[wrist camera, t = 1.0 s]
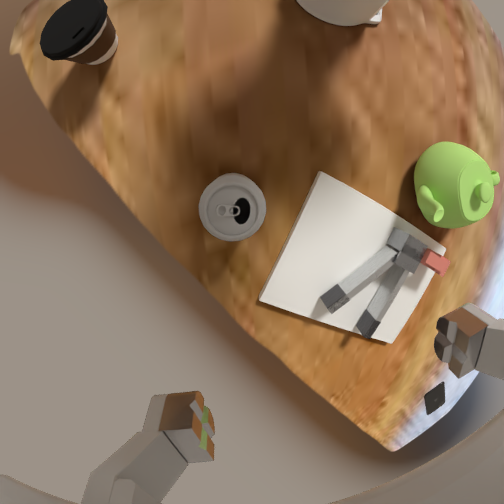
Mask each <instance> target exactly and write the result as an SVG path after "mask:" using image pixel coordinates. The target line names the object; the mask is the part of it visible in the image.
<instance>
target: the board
mask: <svg viewBox="0 0 504 504" xmlns="http://www.w3.org/2000/svg"><path fill="white" fill-rule="evenodd" d="M394 227H395V228H397V229H400V230H402V231H404V232H406V233H408V234H410V235H412V236H413V237H415V238H416V239H418V240H419V241H421V242H422V243H424V244H425V245H427V246H428V247H427V248H429V249H431V250H433V251H434V252H436V253H438V254H440V255H442V256H443V255H444V253H445V251H446V248H445V247H443V246H442V245H440V244H439V243H438V242H436V241H435V240H433V239H432V238H431V237H429V236H428V235H426V234H425V233H423V232H422V231H420V230H419V229H418V228H416V227H415V226H413V225H412V224H410V223H409V222H407V221H405V220H404V219H402V218H401V217H399V216H398V215H396V214H395V213H393V212H391V211H390V210H388V209H387V208H385V207H383V206H382V205H380V204H378V203H377V202H375V201H373V200H372V199H370V198H368V197H367V196H365V195H363V194H362V193H360V192H358V191H356V190H355V189H353V188H351V187H349V186H348V185H346V184H344V183H342V182H340V181H338V180H337V179H335V178H333V177H331V176H329V175H327V174H325V173H324V172H322V171H318V173H317V176H316V178H315V180H314V182H313V184H312V186H311V189H310V191H309V193H308V195H307V197H306V199H305V201H304V203H303V206H302V208H301V210H300V212H299V214H298V216H297V218H296V220H295V223H294V225H293V227H292V229H291V231H290V233H289V235H288V237H287V239H286V241H285V243H284V245H283V248H282V250H281V252H280V254H279V256H278V258H277V260H276V262H275V264H274V266H273V268H272V270H271V272H270V274H269V276H268V278H267V280H266V282H265V284H264V286H263V288H262V290H261V292H260V294H259V301H262V302H265V303H268V304H270V305H273V306H276V307H279V308H282V309H285V310H288V311H290V312H293V313H296V314H299V315H302V316H305V317H308V318H311V319H314V320H317V321H320V322H323V323H326V324H329V325H332V326H336V327H339V328H342V329H345V330H348V331H351V332H355V333H358V334H361V333H360V331H359V330H358V328H357V327H356V324H357V323H358V321H359V320H360V318H361V316H362V315H363V313H364V312H365V310H366V309H367V308H368V306H369V305H370V303H371V301H372V300H373V298H374V296H375V294H376V293H377V291H378V289H379V288H380V286H381V284H382V282H383V280H384V279H385V277H386V275H387V273H388V271H389V269H390V268H391V267H390V268H389V269H387V270H386V271H385V272H384V273H383V274H381V275H380V276H379V277H378V278H377V279H375V280H374V281H373V282H372V283H370V284H369V285H368V286H367V287H365V288H364V289H363V290H362V291H360V292H359V293H358V294H356V295H355V296H354V297H353V298H351V299H350V301H349V302H347V303H346V304H345V305H343V306H342V307H341V308H339V309H338V310H337V311H335V312H334V313H333V314H331V313H330V312H329V310H328V309H327V308H326V306H325V304H324V303H323V301H322V300H321V298H320V296H322V295H323V294H324V293H326V292H327V291H328V290H330V289H331V288H332V287H334V286H335V285H336V284H339V283H340V282H342V281H343V280H344V279H345V278H347V277H348V276H349V275H351V274H352V273H353V272H354V271H356V270H357V269H358V268H359V267H361V266H362V265H363V264H364V263H366V262H367V261H368V260H369V259H371V258H372V257H373V256H374V255H376V254H377V253H378V252H379V251H380V250H382V249H383V248H384V247H385V246H387V247H389V248H391V249H392V250H393V249H394V247H392V246H391V245H389V244H387V243H386V242H387V240H388V238H389V236H390V234H391V232H392V230H393V228H394ZM434 273H435V272H434V271H433V270H431V269H430V268H428V267H426V266H425V265H423V264H422V263H419V265H418V267H417V269H416V271H415V273H414V274H413V273H411V272H409V274H408V276H407V278H406V280H405V281H404V283H403V285H402V287H401V288H400V290H399V292H398V294H397V295H396V297H395V299H394V301H393V302H392V304H391V306H390V307H389V309H388V311H387V312H386V314H385V315H384V317H383V319H382V320H381V323H380V324H379V326H378V327H377V329H376V331H375V332H374V334H373V335H372V337H371V338H374V339H377V340H381V341H384V342H388V343H391V344H392V343H393V341H394V340H395V338H396V337H397V335H398V334H399V332H400V331H401V329H402V328H403V326H404V325H405V323H406V321H407V320H408V318H409V317H410V315H411V313H412V312H413V310H414V309H415V307H416V305H417V304H418V302H419V300H420V298H421V297H422V295H423V293H424V291H425V290H426V288H427V286H428V284H429V282H430V280H431V279H432V277H433V275H434ZM361 335H362V334H361Z"/></svg>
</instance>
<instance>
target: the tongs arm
mask: <svg viewBox="0 0 504 504" xmlns="http://www.w3.org/2000/svg"><path fill="white" fill-rule="evenodd" d="M397 255H398V253H397V252H395V251H394V250H392V249H391V248H389V247H387V246H385V247H384V248H383V249H382V250H380V251H379V252H378V253H377V254H376V255H374V256H373V257H372V258H371V259H369V260H368V261H367V262H366V263H364V264H363V265H362V266H361V267H359V268H358V269H357V270H356V271H354V272H353V273H352V274H351V275H349V276H348V277H347V278H345V279H344V280H343V281H342V282H340V283H339V284H336V285H335V286H334V287H332V288H331V289H330V290H328V291H327V292H326V293H324V294H323V295H322V296H320V298H321V300H322V301H323V303H324V304H325V306H326V308H327V309H328V310H329V312H330V313H331V314H333V313H334V312H335V311H337V310H338V309H339V308H341V307H342V306H343V305H345V304H346V303H347V302H349V301H350V299H351V298H353V297H354V296H355V295H356V294H358V293H359V292H360V291H362V290H363V289H364V288H365V287H367V286H368V285H369V284H370V283H372V282H373V281H374V280H375V279H377V278H378V277H379V276H380V275H381V274H383V273H384V272H385V271H386V270H387V269H389V268H390V267H391V266H392V265H393V264H394V261H395V259H396V257H397Z"/></svg>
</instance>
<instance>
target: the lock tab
mask: <svg viewBox="0 0 504 504" xmlns="http://www.w3.org/2000/svg"><path fill="white" fill-rule="evenodd" d="M420 263H422V264H423V265H425V266H426V267H428V268H430V269H431V270H433V271H434V272H436V273H438V274H439V275H441V276H442V277H443V276H444V274H445V272H446V270H447V268H448V266H449V264H450V261H449V260H448V259H446V258H445V257H443V256H442V255H440V254H438V253H436V252H434V251H433V250H431V249H429V248H427V249H426V252H425V254H424V256H423V258H422V260H421V262H420Z"/></svg>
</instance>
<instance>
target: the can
mask: <svg viewBox="0 0 504 504" xmlns="http://www.w3.org/2000/svg"><path fill="white" fill-rule="evenodd" d="M265 214H266V201H265V198H264V196H263V193H262V191H261V190H260V189H259V187H258V186H257V185H256V184H255V183H254V182H253V181H252V180H251V179H249V178H247V177H246V176H244V175H242V174H238V173H227V174H224V175H222V176H219V177H218V178H217V179H215V180H214V181H213V182H212V183H211V184H209V185H208V186H207V187H206V189H205V190H204V192H203V194H202V195H201V198H200V203H199V215H200V219H201V221H202V223H203V225H204V227H205V228H206V229H207V230H208V231H209V233H210V234H212V235H213V236H215V237H217V238H218V239H221V240H225V241H230V242H231V241H241V240H243V239H246V238H248V237H250V236H252V235H253V234H254V233H255V232H256V231H258V229H259V228H260V226H261V225H262V223H263V222H264V218H265Z"/></svg>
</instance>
